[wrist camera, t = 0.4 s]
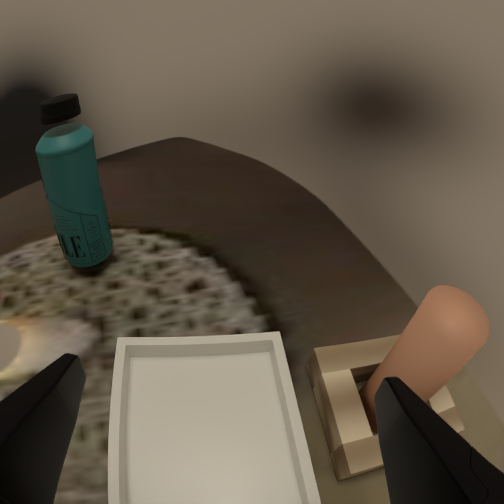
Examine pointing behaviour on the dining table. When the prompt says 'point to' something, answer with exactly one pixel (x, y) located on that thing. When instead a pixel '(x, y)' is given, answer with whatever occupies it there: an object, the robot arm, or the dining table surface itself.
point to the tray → (206, 423)
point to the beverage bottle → (73, 184)
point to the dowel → (431, 346)
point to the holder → (357, 403)
